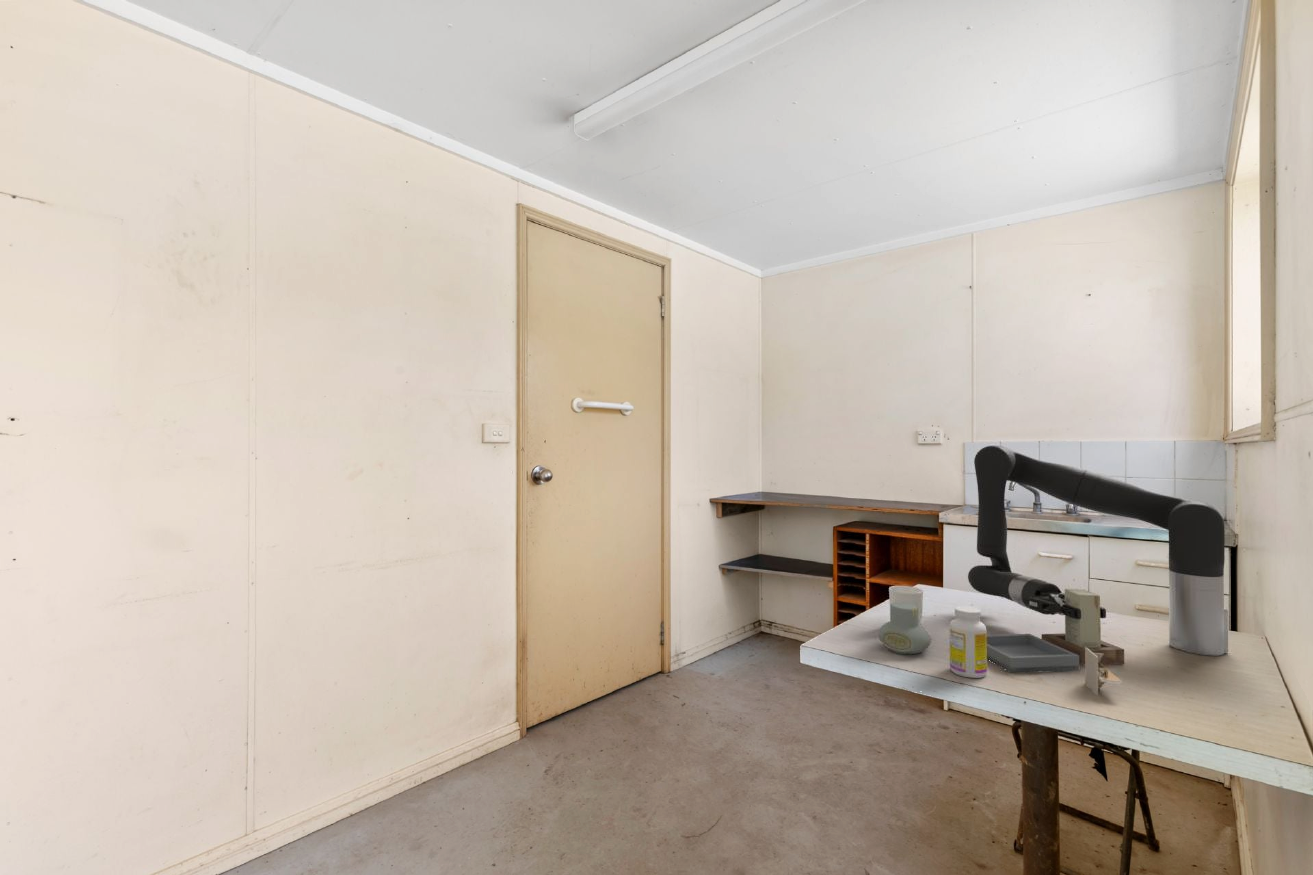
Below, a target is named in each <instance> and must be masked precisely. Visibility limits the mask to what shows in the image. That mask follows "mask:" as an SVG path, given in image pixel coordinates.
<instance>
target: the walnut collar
mask: <svg viewBox="0 0 1313 875" xmlns="http://www.w3.org/2000/svg"><path fill="white" fill-rule="evenodd" d="M1041 639H1043V640H1045V641H1047V642H1049V643H1052V644H1054V645H1056V646H1059V647H1061V648H1063V649H1065V650H1068V651H1070V652H1072V653H1074V654H1077V655H1079V666H1085V648H1082V647H1080V646H1077V645H1075V644H1072V643H1070V642H1068V641H1065V632H1063V633H1042V634H1041ZM1088 649H1089V650H1090V651H1091V652H1093V653H1100V654H1104V655H1103V656H1102V658H1101V660H1100V661H1099V662H1101V661H1102V660H1103V661H1102V662H1101V664H1102V665H1119V664H1120V665H1124V664H1125V648H1123V647H1119V646H1117V645H1114V644H1113V643H1109V642H1107V641H1104V640H1101V648H1088ZM1101 664H1100V665H1099V666H1101Z"/></svg>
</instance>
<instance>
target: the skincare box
mask: <svg viewBox="0 0 1313 875" xmlns="http://www.w3.org/2000/svg"><path fill="white" fill-rule="evenodd" d="M1064 593H1065V605H1069V606H1072V607H1075V608H1078V609H1080V610H1081V619H1074V618H1072V617H1069V616H1066V615H1064V619H1065V620H1064V633H1065V641H1068V642H1070V643H1072V644H1075V645H1077V646H1080V647H1082V648H1085V647H1087V648H1101V638H1102V636H1101V628H1102V627H1101V618H1100V607H1101V596H1100V595H1099V594H1096V593H1095V592H1092V591H1089V590H1086V589H1081V588H1080V589H1079V588H1078V589H1076V588H1074V589H1073V588H1064Z"/></svg>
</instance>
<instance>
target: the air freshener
mask: <svg viewBox="0 0 1313 875" xmlns="http://www.w3.org/2000/svg"><path fill="white" fill-rule="evenodd" d="M889 612H890V613H889V615H890V616H889V621H888V622H886V623H884V624H882V625H881V626H880V628H879V630H878V638H879V641H880V642H881V643H882V645H883V646H885V647H886V648H887V649H889V650H890V651H893V652H894V653H896V654H900V655H914V654H919V653H923V652H925V651H926V650H927V649H928V648H929V647H930V646H931V644H932V637H931V635H930V633H929V632H928V630H927V629H926V628H925V627H924V626H922V625H921V626H920V625H919V617H918V607H917V606H916V605H913V604H910V603H901V602H898V603H892V604H891V605H890V604H889Z"/></svg>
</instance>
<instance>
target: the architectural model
mask: <svg viewBox="0 0 1313 875" xmlns="http://www.w3.org/2000/svg"><path fill="white" fill-rule="evenodd" d="M1103 655H1104V654H1100V653H1093V652H1091V651H1090V650H1089V649H1088V648H1087V647H1085V665H1084V666H1085V669H1084V670H1085V671H1084V672H1085V674H1084V675H1085V677H1084V678H1085V679H1084V680H1085V685H1086V684H1087V685H1088V686H1089V687H1090V688H1091V689H1092V692H1093V691H1094V694H1095V693H1096V694H1095V695H1097V696H1099V689H1101V688H1102V687H1103V685H1104V684H1105V683H1110V684H1119V685H1121V684H1123V683H1122V682H1123V681H1121V680H1120V679H1119V678H1118V677H1117V676H1116V675H1114V674H1113V673H1112V672H1111V671H1110V670H1109V669H1108V668H1107V667H1105V666H1104V664H1101V662H1102V661H1103V660H1102V661H1101V662H1099V661H1100V660H1101V658H1102V656H1103ZM1100 664H1101V665H1100ZM1099 673H1100V674H1101V676H1100V675H1099ZM1087 685H1086V686H1087ZM1088 686H1087V687H1088ZM1089 687H1088V688H1089ZM1091 689H1090V690H1091Z"/></svg>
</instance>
